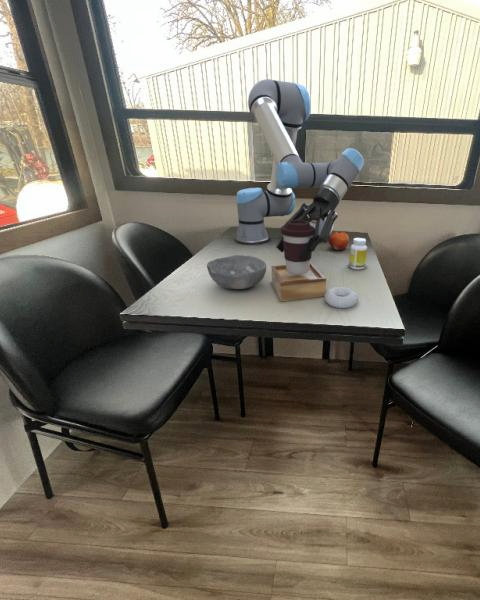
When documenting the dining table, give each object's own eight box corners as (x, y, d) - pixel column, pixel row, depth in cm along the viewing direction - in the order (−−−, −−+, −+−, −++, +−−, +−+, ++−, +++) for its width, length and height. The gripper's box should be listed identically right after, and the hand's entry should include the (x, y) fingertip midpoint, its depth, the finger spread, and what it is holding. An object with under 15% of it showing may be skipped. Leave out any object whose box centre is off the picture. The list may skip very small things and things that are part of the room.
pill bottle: (366, 266, 117) (370, 238, 112) (362, 271, 112) (365, 242, 107) (352, 263, 119) (354, 236, 114) (346, 268, 114) (349, 240, 109)
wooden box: (271, 283, 99) (271, 266, 96) (311, 279, 103) (312, 262, 100) (281, 301, 87) (280, 283, 84) (325, 296, 92) (326, 278, 89)
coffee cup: (309, 278, 87) (310, 227, 80) (277, 274, 89) (276, 224, 82) (316, 266, 96) (318, 220, 89) (287, 263, 97) (286, 217, 91)
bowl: (276, 291, 93) (275, 267, 90) (219, 303, 85) (216, 277, 81) (255, 272, 107) (253, 250, 103) (204, 281, 98) (201, 258, 94)
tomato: (347, 252, 132) (348, 234, 128) (326, 250, 133) (327, 233, 129) (349, 246, 140) (350, 229, 136) (329, 244, 141) (330, 228, 137)
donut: (353, 295, 93) (322, 294, 92) (355, 285, 92) (323, 284, 91) (360, 310, 84) (325, 310, 83) (361, 300, 83) (326, 299, 82)
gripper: (363, 208, 86) (322, 271, 83) (310, 198, 100) (274, 251, 98) (353, 190, 81) (309, 257, 78) (299, 182, 95) (260, 238, 92)
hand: (290, 254), depth 88 cm, fingers closed on coffee cup, 10 cm apart
